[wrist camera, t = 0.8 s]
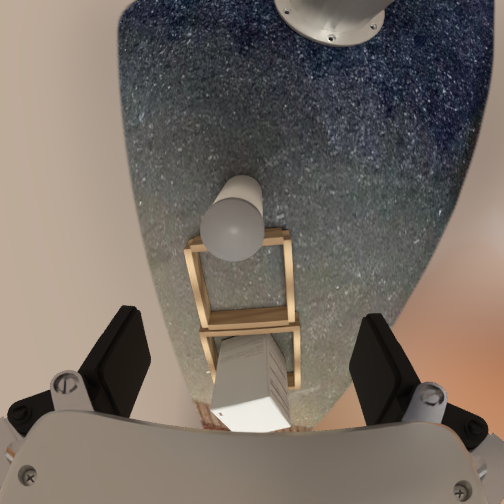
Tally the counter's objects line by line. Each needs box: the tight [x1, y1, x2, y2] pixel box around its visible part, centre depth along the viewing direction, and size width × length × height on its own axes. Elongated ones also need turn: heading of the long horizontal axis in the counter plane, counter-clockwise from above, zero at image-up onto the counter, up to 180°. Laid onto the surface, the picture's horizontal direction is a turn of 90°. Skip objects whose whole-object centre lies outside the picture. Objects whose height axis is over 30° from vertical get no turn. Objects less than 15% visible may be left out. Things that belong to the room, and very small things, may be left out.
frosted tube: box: [200, 175, 264, 261], centre depth 26 cm, size 5×5×12 cm
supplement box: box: [211, 333, 291, 433], centre depth 35 cm, size 7×7×13 cm
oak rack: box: [184, 228, 300, 390], centre depth 37 cm, size 25×13×3 cm, turn 6°
